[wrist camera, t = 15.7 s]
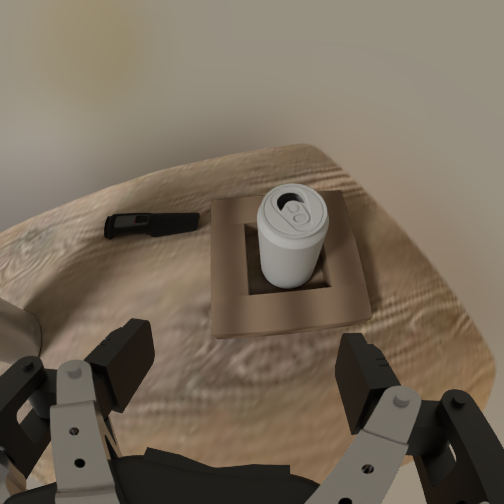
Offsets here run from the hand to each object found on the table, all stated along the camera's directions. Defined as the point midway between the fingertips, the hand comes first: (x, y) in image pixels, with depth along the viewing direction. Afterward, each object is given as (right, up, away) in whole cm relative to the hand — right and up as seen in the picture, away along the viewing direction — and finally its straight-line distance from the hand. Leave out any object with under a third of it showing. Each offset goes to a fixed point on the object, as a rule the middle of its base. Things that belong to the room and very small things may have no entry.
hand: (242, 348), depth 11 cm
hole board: (+4, +2, +23) cm, 23 cm away
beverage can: (+5, +2, +23) cm, 23 cm away
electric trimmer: (-14, +7, +27) cm, 32 cm away
